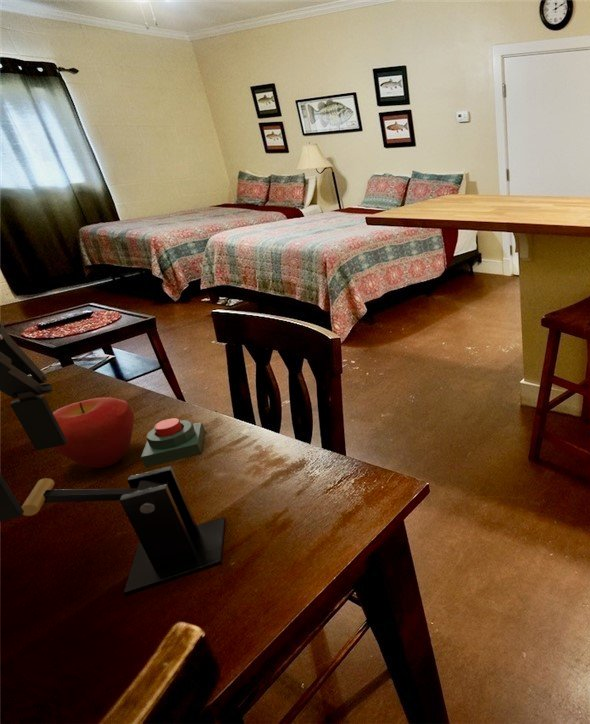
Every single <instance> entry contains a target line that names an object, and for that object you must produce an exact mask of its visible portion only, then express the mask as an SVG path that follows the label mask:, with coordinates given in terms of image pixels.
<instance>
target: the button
mask: <svg viewBox="0 0 590 724" xmlns="http://www.w3.org/2000/svg"><path fill="white" fill-rule="evenodd" d="M180 420H181V419H179V418H173V417H172V418H167V419H163V420H161V421H159V422H158V423H156V424H155V425H154V427H153V429H154V428H155V430H156V433H157V435H158V436H159V437H166V436H170V435H173V434H176V433H178V432H180V431H181V430H182V425H181V423H180Z"/></svg>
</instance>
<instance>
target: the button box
mask: <svg viewBox="0 0 590 724" xmlns="http://www.w3.org/2000/svg"><path fill="white" fill-rule="evenodd" d="M179 420H180V423H181V425H182V430H181V431H180V432H178V433H176V434H173V435H170V436H166V437H159V436H158V435H157V433H156V430H155V428H154V427H153V429H151V430H150V431H149V432H147V434H146V437H145V439H146V442H145V444H144V448H143V450H142V453H141V456H140V459H141V461H142V463H143V465H144V467H145V468H148V467H149V468H150V467H152V466H156V465H160V464H165V463H169V462H173V461H177V460H181V459H185V458H189V457H193V456H197V455H202V452H203V447H204V442H205V441H204V440H205V435H206V429H205V427H204V424H203V422H195V423H193V422H191V421H190V420H187V419H182V420H181V419H179Z"/></svg>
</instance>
